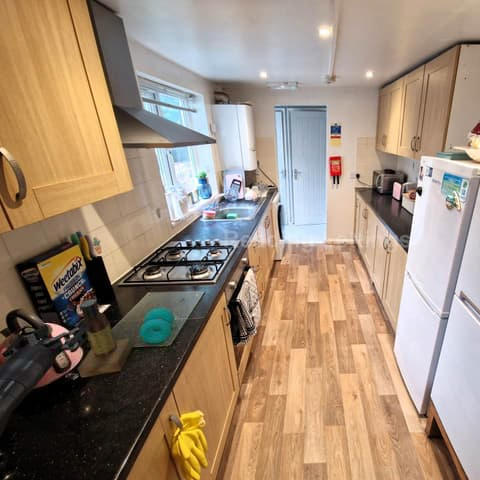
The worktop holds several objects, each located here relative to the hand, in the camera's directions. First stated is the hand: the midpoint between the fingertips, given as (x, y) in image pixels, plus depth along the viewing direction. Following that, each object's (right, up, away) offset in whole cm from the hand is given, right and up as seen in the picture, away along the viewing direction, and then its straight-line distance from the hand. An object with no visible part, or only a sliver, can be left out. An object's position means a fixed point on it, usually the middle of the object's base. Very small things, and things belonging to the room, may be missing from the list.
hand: (65, 324), depth 71 cm
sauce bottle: (-3, -15, +18) cm, 23 cm away
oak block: (-3, -19, +19) cm, 27 cm away
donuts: (+7, -14, +31) cm, 35 cm away
